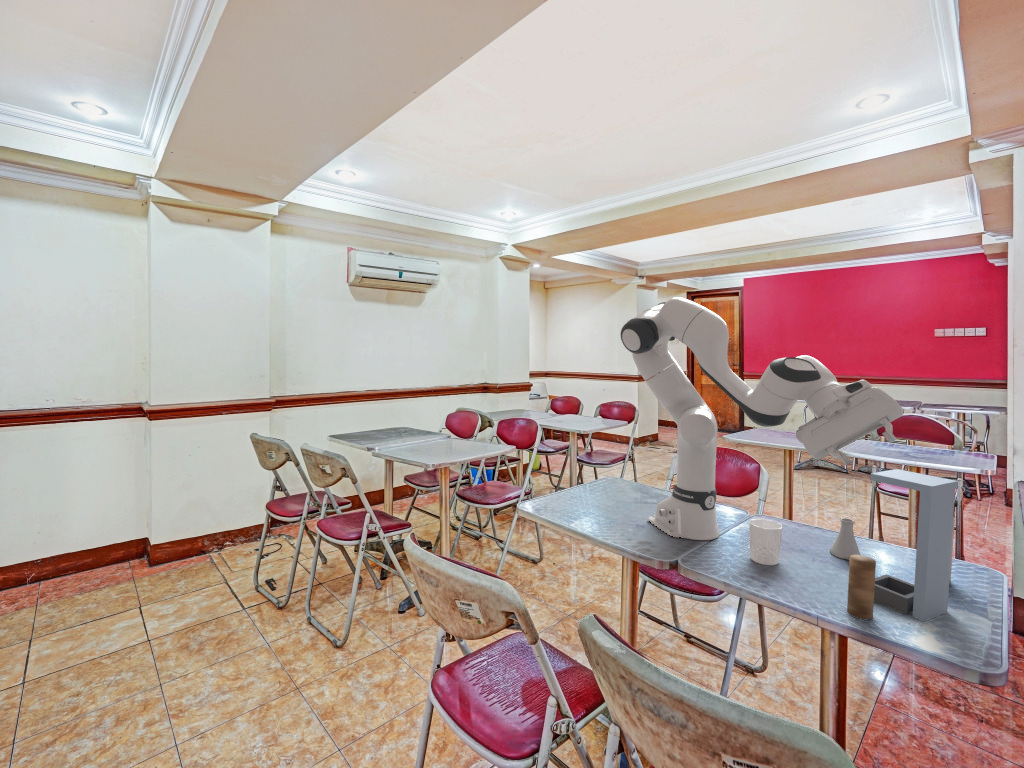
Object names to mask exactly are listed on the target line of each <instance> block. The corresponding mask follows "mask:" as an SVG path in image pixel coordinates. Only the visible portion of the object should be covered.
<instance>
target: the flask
mask: <svg viewBox="0 0 1024 768" xmlns="http://www.w3.org/2000/svg"><path fill="white" fill-rule="evenodd" d="M839 520H840V528H839V531H838V534H837V535H836V537H835V540H834V541H833V543H832V544H831V547H830V548H829V553H830V554H831V555H833V556H834V557H838V558H839V559H841V560H848V561H850V556H851V555H861V553H860V550H859V547H858V544H857V543H858V542H857V540H856V538H855V535H854V534H855V533H854V524H855V520H853V519H852V518H846V517H840V519H839Z"/></svg>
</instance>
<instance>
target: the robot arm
mask: <svg viewBox="0 0 1024 768" xmlns="http://www.w3.org/2000/svg"><path fill="white" fill-rule="evenodd" d="M620 340H621V343H622V344H623V346H624V348H625V349H626V350H627V351H628V352H630V353H632V354H631V356H632V359H633V361H634V364H635V365H636V368H637V369H638V372H639V373H640V376H641V377H642V378H643V380H644V381H645V383H646V384H647V386H648V388H649V389H650V390H651V392H652V393H653V395H654V396H655V398H656V399H657V400H658V402H659V403H660V405H661V406H662V407H663V409H664V410H666V412H667V413H668V415H669V416H670V417H671V418H672V420H673V421H674V423H675V424H676V425H677V427H676V428H677V429H676V430H677V433H676V438H677V439H676V441H677V443H676V444H677V445H676V446H677V447H676V448H677V449H676V458H677V459H676V484H673V485H672V484H671V485H670V488H669V489H670V490H672V493H671V495H669V496H667V497H666V498H664V499H663V500H661V501H660V502H658V504H657V505H656V509H655V514H652V515H650V516H649V517H648V518H647V521H648V522H649V521H650V522H651V523H650V522H649V523H650V524H651V525H653V524H654V525H653V526H655V527H656V526H657V527H656V528H658V529H659V530H660V529H661V532H663V531H664V532H663V533H665V534H666V533H667V535H668V536H669V535H670V536H669V537H671V536H673V537H672V538H679V537H681V539H682V538H683V539H689V540H694V541H710V540H715V539H717V538H719V537H720V532H719V525H718V521H717V508H716V502H717V488H716V465H717V449H718V448H717V447H718V432H719V431H718V427H719V426H718V421H717V420H716V419H717V418H716V417H715V414H714V413H713V412H712V409H711V408H710V407H709V406H708V404H707V403H706V401H705V400H704V398H703V397H702V396H701V394H700V393H699V392H698V390H697V389H696V388H695V386H694V384H693V383H692V382H691V380H690V379H689V378H688V377H687V375H686V374H685V372H684V371H683V368H681V366H680V365H679V364H678V362H677V360H676V359H675V358H674V356H673V355H672V354H671V352H670V351H669V348H668V344H669V341H670V342H672V341H673V342H674V340H678V341H680V343H682V344H683V345H685V346H687V348H688V349H690V351H691V352H692V353H693V355H694V357H696V360H697V363H698V367H699V368H700V370H701V371H702V372H703V373H704V374H705V376H706V377H708V378H709V380H711V381H712V382H713V383H714V384H715V385H716V386H717V387H718V388H719V389H721V390H722V392H724V393H725V394H726V395H727V396H728V397H729V398H730V399H731V400H732V401H733V402H734V403H735V404H737V406H738V407H739V408H740V409H741V410H742V411H743V413H744V415H746V417H747V418H748V419H749V420H750V421H751V422H752V423H754V424H756V425H757V426H760V427H765V428H768V427H769V428H771V427H777V426H781V425H783V424H784V423H785V422H786V420H787V418H788V417H789V415H790V412H791V410H792V409H793V408H794V406H795V404H796V403H797V401H798V400H800V399H801V400H804V402H806V406H807V408H808V409H809V411H810V412H811V413H812V414H813V415H814V418H812V419H810V420H808V421H807V422H806V423H804V424H801V425H800V426H799V427H797V428H798V429H797V430H796V431H795V437H796V439H797V440H798V441H799V442H800V443H801V444H803V446H804V448H805V450H806V452H807V453H808V454H809V455H810V457H811V458H813V459H814V460H816V461H817V460H819V461H820V460H822V459H824V458H826V457H828V456H831V457H832V458H835V459H837V460H839V461H841V463H842V464H843V465H844V466H847V465H850V464H851V463H852V460H851V459H850V457H849V456H848V455H847V454H846V453H841V454H840V453H839V450H841V449H844V448H845V447H847V446H849V445H851V444H852V443H854V442H856V441H859V439H862V438H863V437H865V436H867V435H870V434H871V433H872V432H875V431H876V430H879V429H880V428H884V429H885V431H884V432H882V433H881V434H882V436H883V437H884V438H885V439H886V440H887V441H888V443H892V442H894V441H897V437H896V436H895V435H894V433H893V432H894V431H893V430H894V429H893V424H892V422H893V421H895V420H897V419H899V418H901V417H902V416H904V409H903V407H902V406H901V405H900V404H899V402H897V400H896V399H895V398H893V397H892V396H891V395H889V393H887V392H885V391H884V390H882V389H881V388H879V387H874V386H873V385H872V384H871V383H870V382H869V381H867V380H866V379H860V380H858V381H855V382H851V383H847V384H843V385H842V384H841V383H839V382H838V379H837V378H836V376H835V374H833V373H832V372H831V370H830V369H829V368H828V367H826V366H825V364H823V363H822V362H821V361H819V360H818V359H816V358H815V357H812V356H810V355H799V356H795V357H793V356H791V357H781V358H777V359H776V358H775V359H774V360H772V361H771V362H770V363H769V364H768V366H767V367H766V369H765V371H764V372H763V374H762V375H761V377H760V379H759V381H758V382H757V384H756V385H755V386H754V388H753V389H752V387H750V386H749V385H748V384H747V383H746V382H745V381H744V380H743V379H741V377H739V376H738V375H737V374H736V373H735V372H733V370H732V369H731V367H730V364H729V360H728V352H729V351H728V349H729V342H730V333H729V328H728V325H727V323H726V321H725V320H724V319H723V318H722V317H721V316H720V315H718V314H717V313H715V312H714V311H712V310H710V309H708V308H707V307H705V306H703V305H701V304H699V303H696V302H694V301H693V300H690V299H687V298H684V297H680V296H675V297H672V298H670V299H669V298H668V300H667V301H663V302H659V303H657V305H655V306H652V307H651V306H650V307H649V308H647V309H645V310H643V311H642V312H641V313H640V314H637V315H636V316H635V317H634V318H631V319H630V320H627V322H626V323H625V324H623V326H622V328H621V329H620Z"/></svg>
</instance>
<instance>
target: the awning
mask: <svg viewBox="0 0 1024 768" xmlns="http://www.w3.org/2000/svg"><path fill="white" fill-rule="evenodd" d="M870 481H874V482H879V483H882V484H887V485H891V486H897V487H901V488H904V489H905V488H906V489H908V490H914V491H918V492H919V499H918V500H919V501H918V502H919V504H918V505H919V506H918V516H917V517H918V519H917V520H918V522H917V534H916V535H917V538H916V551H915V552H916V554H915V566H914V567H915V572H914V600H913V612H912V617H913V618H915V619H917V620H919V621H922V622H926V621H929V620H931V619H933V618H935V617H938V616H941V615H943V614H946V613H948V606H949V605H948V604H949V591H950V584H949V578H950V562H951V547H952V531H953V516H954V513H955V512H954V503H955V501H956V500H955V498H956V497H955V496H956V489H958V488H959V480H954V479H950V478H945V477H940V476H933V475H929V474H924V473H919V472H914V471H909V470H903V469H898V468H895V469H894V468H893V469H890V470H883V471H878V472H877V471H876V472H872V473H870Z"/></svg>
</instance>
